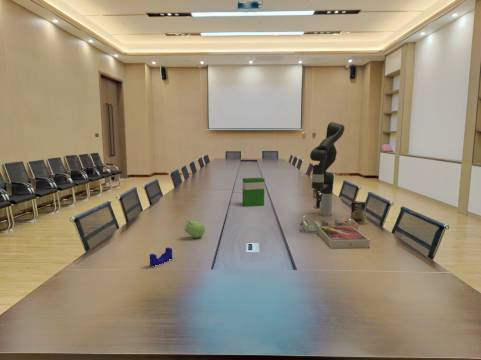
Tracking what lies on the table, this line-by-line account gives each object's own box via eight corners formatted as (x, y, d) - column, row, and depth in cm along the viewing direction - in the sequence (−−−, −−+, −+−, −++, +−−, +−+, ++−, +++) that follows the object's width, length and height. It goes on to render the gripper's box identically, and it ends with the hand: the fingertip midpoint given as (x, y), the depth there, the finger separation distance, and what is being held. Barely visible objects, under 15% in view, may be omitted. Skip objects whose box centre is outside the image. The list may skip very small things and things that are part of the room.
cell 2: (312, 207, 219) (312, 196, 218) (319, 207, 219) (319, 196, 218) (314, 208, 215) (314, 198, 214) (321, 208, 215) (321, 198, 214)
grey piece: (302, 227, 225) (302, 219, 224) (355, 227, 225) (356, 219, 224) (305, 232, 214) (305, 223, 214) (361, 232, 214) (361, 223, 213)
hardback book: (261, 203, 299) (261, 177, 296) (264, 205, 292) (264, 178, 289) (242, 205, 294) (242, 178, 291) (245, 206, 287) (245, 179, 284)
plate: (325, 225, 222) (325, 224, 222) (334, 225, 222) (334, 224, 222) (327, 228, 216) (327, 226, 216) (337, 228, 216) (337, 226, 216)
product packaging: (331, 249, 185) (331, 240, 184) (317, 233, 213) (317, 226, 212) (369, 248, 186) (369, 239, 185) (350, 233, 214) (350, 225, 213)
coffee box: (350, 224, 232) (351, 202, 230) (351, 222, 237) (353, 200, 235) (364, 226, 228) (365, 203, 225) (365, 224, 233) (366, 201, 231)
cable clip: (166, 258, 170) (165, 246, 170) (172, 259, 168) (172, 248, 167) (147, 265, 161) (147, 253, 160) (154, 267, 158) (153, 255, 157)
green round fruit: (196, 233, 211) (196, 216, 209) (207, 237, 203) (207, 220, 201) (180, 237, 202) (180, 220, 201) (191, 242, 195) (191, 223, 193)
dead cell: (345, 227, 221) (345, 216, 220) (351, 227, 221) (352, 217, 220) (347, 229, 217) (347, 218, 216) (354, 229, 217) (354, 218, 216)
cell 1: (299, 223, 235) (300, 214, 234) (306, 223, 234) (306, 214, 233) (300, 225, 230) (301, 215, 229) (307, 225, 230) (307, 215, 229)
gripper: (326, 182, 207) (325, 209, 210) (320, 179, 222) (319, 204, 224) (314, 182, 207) (313, 209, 210) (309, 179, 222) (308, 204, 224)
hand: (316, 206), depth 217 cm, fingers closed on cell 2, 4 cm apart
